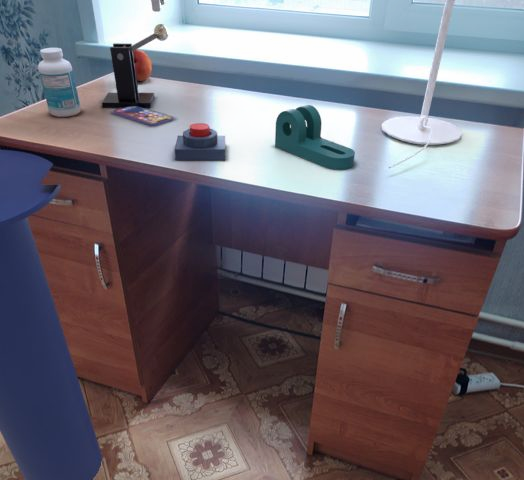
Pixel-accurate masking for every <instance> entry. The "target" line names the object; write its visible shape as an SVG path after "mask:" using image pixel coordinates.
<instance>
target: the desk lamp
mask: <svg viewBox="0 0 524 480" xmlns="http://www.w3.org/2000/svg"><path fill="white" fill-rule="evenodd" d="M455 1H456V0H445V3H444V7H443V10H442V14H441V19H440V24H439V27H438V28H439V29H438V32H437V33H438V34H437V38H436V42H435V47H434V52H433V57H432V61H431V66H430V71H429V75H428V80H427V85H426V89H425V94H424V97H423V103H422V107H421V113H420V116H416V115H415V116H413V115H407V116H396V117H391V118H388V119H386V120H385V121H383V123H381V130H382V131H383V132H384V133H385V134H387V135H388V137H392V138H394V139H396V140H398V141H401V142H403V143H408V144H414V145H421V146H423V147H421V148H420V149H419V150H417V151H416V152H414V153H413V154H412V155H410V156H408V157H406V158H404V159H402V160H401V161H398V162H397V163H394V164H392V165H390V166H388V169H391V168H394V167H395V166H398V165H400V164H402V163H404V162H406V161H408V160H410V159H411V158H413V157H415V156H416V155H417V154H420V153H421V152H422V151H423V150H424V149H425V148H427V147H428V146H438V145H445V144H451V143H453V142H456V141H459V140H460V139H461V137H462V136H463V132H462V130H461V128H460V127H458V126H456V125H455V124H453V123H452V122H448V121H445V120H442V119H438V118H432V117H429V114H430V110H431V105H432V100H433V98H434V97H433V96H434V93H435V92H434V91H435V87H436V84H437V83H436V82H437V79H438V74H439V70H440V65H441V62H442V61H441V60H442V57H443V52H444V48H445V44H446V38H447V34H448V30H449V26H450V22H451V18H452V12H453V8H454V5H455Z"/></svg>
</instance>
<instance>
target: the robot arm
mask: <svg viewBox="0 0 524 480" xmlns="http://www.w3.org/2000/svg"><path fill="white" fill-rule="evenodd" d="M150 1H151V9H152V11H153V13H154V12H155V13H156V12H161V10H162V6H164V5H165V4H166V0H150Z"/></svg>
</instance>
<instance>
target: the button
mask: <svg viewBox="0 0 524 480" xmlns="http://www.w3.org/2000/svg"><path fill="white" fill-rule="evenodd" d="M189 129H190V135H191V136H193V137H206V136H209V135H210V129H211V125H210V124H208V123H204V122H196V123H192V124H190V125H189Z"/></svg>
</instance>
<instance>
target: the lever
mask: <svg viewBox="0 0 524 480" xmlns="http://www.w3.org/2000/svg"><path fill="white" fill-rule="evenodd" d="M169 34H170V33H169V29H168V27H167V25H165V24H163V23H158V24H157V25H155V26H154V29H153V33H152V34H150V35H149V36H147V37H145V38H143V39H141V40H139V41H137V42H135V43H134V44H132V46H130V47H129V49H130V53H131V52H133V51H134V50H139V49H140V48H142V47H143V46H145V45H147V44H149V43H151V42H152V41H154V40H158V41H160V42H164V41H166V40H167V39H168V37H169ZM123 47H126V46H123Z"/></svg>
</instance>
